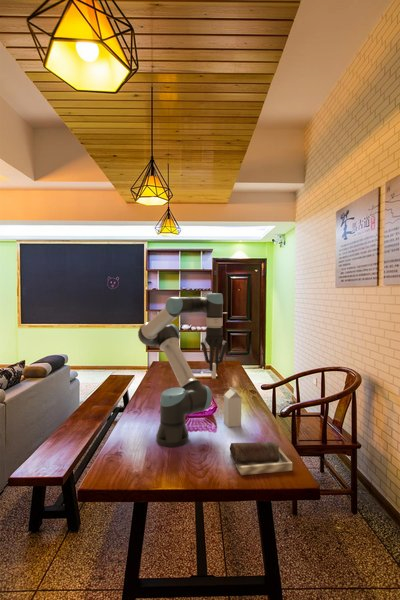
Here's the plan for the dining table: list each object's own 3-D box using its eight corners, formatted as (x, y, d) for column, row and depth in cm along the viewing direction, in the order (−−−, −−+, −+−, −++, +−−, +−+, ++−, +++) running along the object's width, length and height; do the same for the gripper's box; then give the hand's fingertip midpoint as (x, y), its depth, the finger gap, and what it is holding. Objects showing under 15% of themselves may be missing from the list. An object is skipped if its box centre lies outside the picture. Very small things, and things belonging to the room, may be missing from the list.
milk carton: (228, 427, 167) (228, 391, 167) (223, 422, 174) (224, 387, 173) (241, 426, 169) (241, 390, 169) (236, 420, 176) (236, 386, 175)
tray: (241, 475, 124) (241, 467, 124) (230, 455, 139) (230, 448, 139) (292, 470, 128) (292, 463, 128) (276, 451, 143) (276, 444, 143)
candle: (231, 465, 133) (277, 462, 136) (234, 461, 128) (283, 458, 130) (228, 445, 138) (274, 442, 140) (231, 441, 132) (278, 438, 135)
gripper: (201, 327, 144) (201, 380, 144) (230, 327, 146) (229, 379, 147) (198, 325, 151) (198, 376, 152) (225, 325, 153) (225, 375, 154)
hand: (213, 377), depth 149 cm, fingers closed
